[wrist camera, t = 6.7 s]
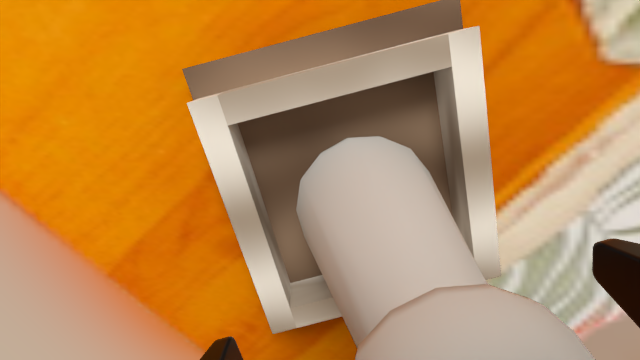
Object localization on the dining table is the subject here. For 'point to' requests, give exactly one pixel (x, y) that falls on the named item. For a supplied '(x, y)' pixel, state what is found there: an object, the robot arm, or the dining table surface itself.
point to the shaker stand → (344, 136)
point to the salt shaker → (412, 265)
